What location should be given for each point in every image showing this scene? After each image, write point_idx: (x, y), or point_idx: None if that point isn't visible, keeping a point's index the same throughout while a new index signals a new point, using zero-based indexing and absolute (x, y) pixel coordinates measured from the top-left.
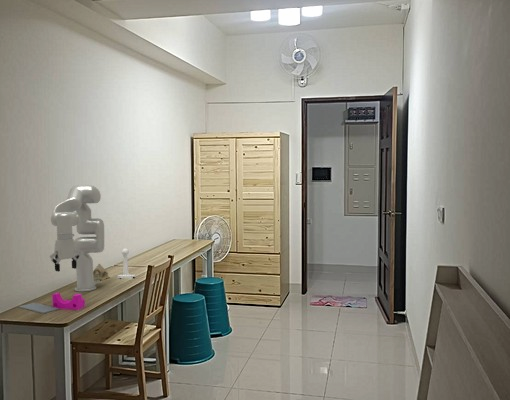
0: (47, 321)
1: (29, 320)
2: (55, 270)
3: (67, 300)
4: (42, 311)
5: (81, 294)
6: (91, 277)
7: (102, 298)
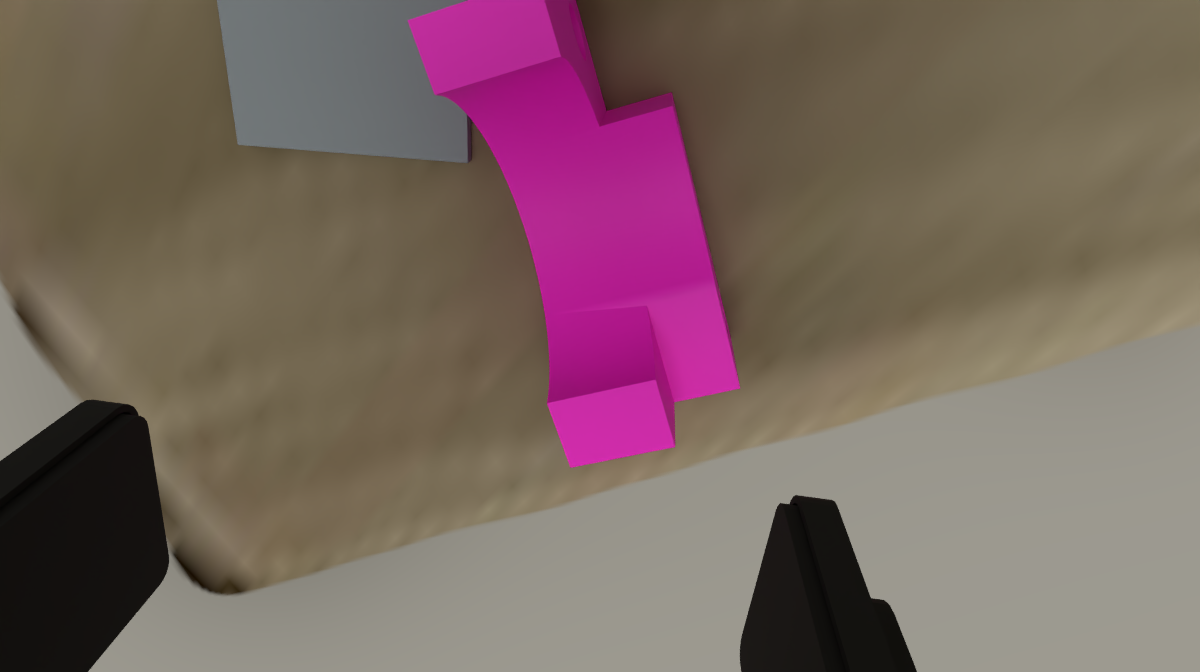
0: None
1: (15, 234)
2: (89, 406)
3: (648, 131)
4: (252, 86)
5: (670, 446)
6: None
7: (1193, 231)
